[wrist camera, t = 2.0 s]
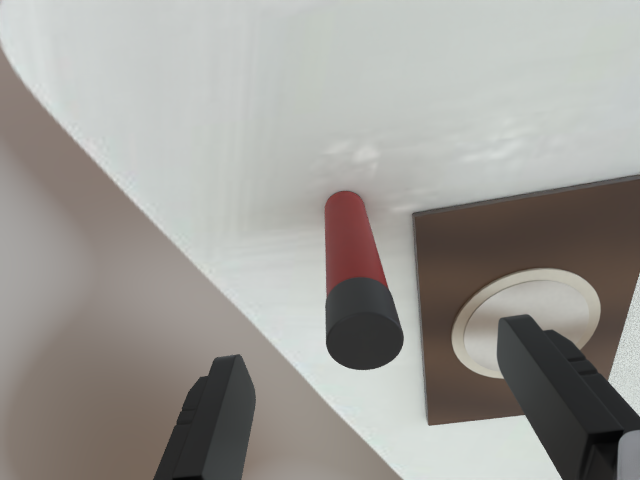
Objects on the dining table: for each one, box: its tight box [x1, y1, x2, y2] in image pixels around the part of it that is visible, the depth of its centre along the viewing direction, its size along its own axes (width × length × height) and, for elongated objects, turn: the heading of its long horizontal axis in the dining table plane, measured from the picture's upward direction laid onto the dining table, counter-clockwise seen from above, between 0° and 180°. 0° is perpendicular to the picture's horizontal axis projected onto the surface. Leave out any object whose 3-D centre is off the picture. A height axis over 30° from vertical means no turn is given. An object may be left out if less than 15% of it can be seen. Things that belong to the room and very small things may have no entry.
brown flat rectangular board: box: [413, 175, 640, 426], centre depth 24 cm, size 20×14×1 cm
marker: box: [325, 191, 404, 370], centre depth 16 cm, size 2×2×11 cm
